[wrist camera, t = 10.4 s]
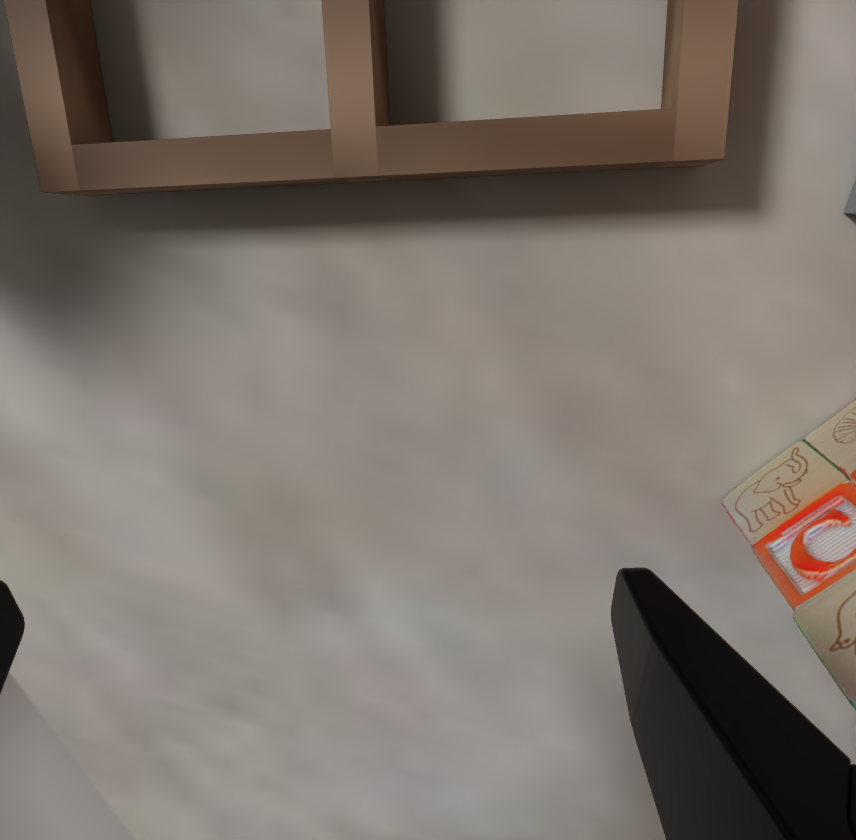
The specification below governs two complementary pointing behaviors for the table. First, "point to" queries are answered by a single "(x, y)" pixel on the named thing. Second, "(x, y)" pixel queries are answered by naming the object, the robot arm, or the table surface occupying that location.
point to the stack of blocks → (810, 537)
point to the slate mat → (851, 202)
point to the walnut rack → (360, 115)
